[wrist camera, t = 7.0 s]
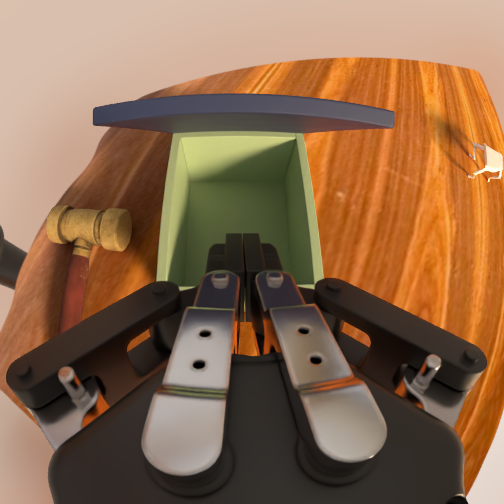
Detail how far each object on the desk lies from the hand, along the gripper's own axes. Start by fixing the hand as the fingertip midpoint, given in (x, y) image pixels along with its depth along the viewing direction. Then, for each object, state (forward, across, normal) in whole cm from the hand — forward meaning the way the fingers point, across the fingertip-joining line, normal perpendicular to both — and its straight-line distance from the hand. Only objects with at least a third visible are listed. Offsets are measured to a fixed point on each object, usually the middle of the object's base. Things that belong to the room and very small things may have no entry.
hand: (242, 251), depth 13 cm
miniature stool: (+27, +45, +3) cm, 52 cm away
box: (+17, 0, -7) cm, 18 cm away
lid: (+7, 0, +6) cm, 9 cm away
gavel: (+12, -18, -12) cm, 25 cm away
